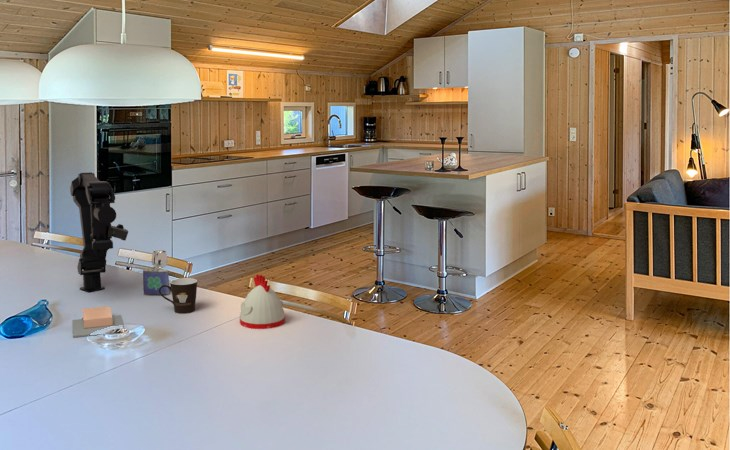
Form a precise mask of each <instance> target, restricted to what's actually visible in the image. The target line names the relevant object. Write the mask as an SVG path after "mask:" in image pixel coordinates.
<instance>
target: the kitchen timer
mask: <svg viewBox="0 0 730 450" xmlns="http://www.w3.org/2000/svg"><path fill="white" fill-rule="evenodd" d="M268 281H269V280H266V276H265V275H262V274H261V275H260V274H256V275H255V277H253V282H254V285H255V287H253V288H252V289H251V290H250V291H249V292H248V294H247V295H246V296H245V298H244V300H243V302H241V304H240V312H239V313H240V314H239V324H240V326H242V327H244V328H247V329H253V330H268V329H274V328H277V327H281V326H282V325H284V324H285V319H286V318H285V317H286V315H285V311H284V307H283V306H284V303H283V302H284V301H283V300H282V299H280V297H279V296H278V295H277V292H275V290H273V289H272V288H271V285H270V284H269V285H268Z"/></svg>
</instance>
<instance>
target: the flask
mask: <svg viewBox="0 0 730 450" xmlns="http://www.w3.org/2000/svg"><path fill="white" fill-rule="evenodd" d="M152 267H153V268H150V267H148V268H146V269H143V271H142V280H143V283H142V284H143V287H142V289H143V290H142V291H143V295H144V296H159V297H162V296H161V295H160V293H159V288H160V287H161V286H163V285H168V286H170V279H169V278H170V277H169V274H170V273H169V270H168V269H161V270H159V269H158V268H157V267H158V266H157V265H156V266H152ZM161 293H162V294H163V296H169V295H170V289H169V288H168V287H163V288H161Z"/></svg>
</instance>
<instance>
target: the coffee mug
mask: <svg viewBox="0 0 730 450" xmlns="http://www.w3.org/2000/svg"><path fill="white" fill-rule="evenodd" d="M163 287H168V288H169V292H171V297H172V298H171V299H172V300H171V299H170V298H169V297H166V295H164V296H163V294H162V293H161V288H163ZM197 289H198V280H197V279H196V278H193V277H182V278H175V279H171V280H169V286H168V285H163V286H161V287H160V288H159V293H160V295H161V296H160V297H162V298H163V299H165V300H167V301H168V302H170V303H171V304H173V305H172V306H173V309H174V313H175V314H180V315H182V314H183V315H184V314H190V313H194V312H195V311H196V301H197V300H196V299H197V291H198V290H197Z"/></svg>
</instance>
